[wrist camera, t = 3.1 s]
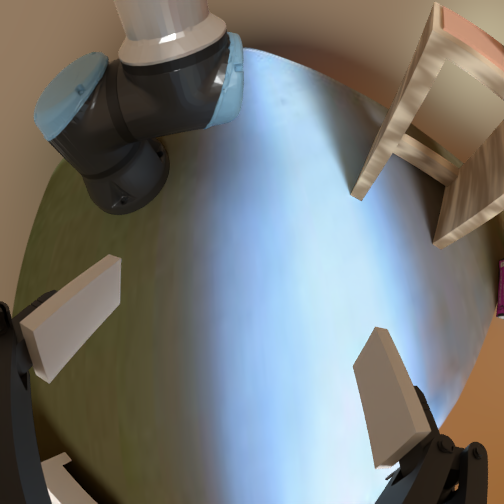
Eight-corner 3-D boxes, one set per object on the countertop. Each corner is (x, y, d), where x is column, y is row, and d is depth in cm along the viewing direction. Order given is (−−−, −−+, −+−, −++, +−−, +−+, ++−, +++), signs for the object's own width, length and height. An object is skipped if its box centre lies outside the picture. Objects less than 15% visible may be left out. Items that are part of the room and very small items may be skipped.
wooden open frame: (350, 195, 42) (432, 30, 13) (374, 138, 45) (434, 1, 16) (441, 249, 39) (575, 154, 10) (453, 187, 42) (547, 85, 13)
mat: (443, 29, 13) (444, 26, 13) (442, 8, 16) (443, 5, 15) (515, 81, 12) (516, 78, 11) (499, 46, 14) (501, 44, 14)
